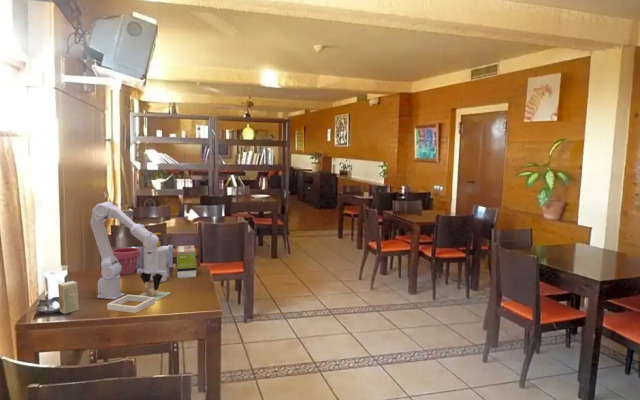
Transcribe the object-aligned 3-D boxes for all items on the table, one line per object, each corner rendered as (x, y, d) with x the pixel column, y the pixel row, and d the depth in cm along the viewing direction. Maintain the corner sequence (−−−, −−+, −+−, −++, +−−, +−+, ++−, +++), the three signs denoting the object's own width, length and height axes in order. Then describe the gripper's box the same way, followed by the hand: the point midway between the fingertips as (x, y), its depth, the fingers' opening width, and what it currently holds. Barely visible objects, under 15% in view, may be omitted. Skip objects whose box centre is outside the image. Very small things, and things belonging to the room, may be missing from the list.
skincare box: (74, 308, 202) (73, 280, 201) (79, 310, 199) (78, 282, 198) (58, 311, 197) (57, 283, 196) (63, 314, 194) (61, 285, 193)
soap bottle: (167, 281, 245) (166, 233, 242) (151, 284, 238) (150, 235, 235) (159, 277, 251) (158, 231, 248) (143, 281, 244) (142, 233, 241)
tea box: (176, 271, 265) (176, 245, 263) (195, 270, 268) (194, 244, 266) (177, 278, 251) (176, 251, 249) (196, 277, 254) (196, 250, 252)
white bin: (107, 309, 200) (107, 304, 200) (128, 299, 214) (128, 294, 214) (135, 313, 197) (135, 307, 197) (155, 302, 210) (155, 297, 210)
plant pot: (135, 268, 270) (134, 246, 269) (143, 273, 259) (143, 250, 258) (109, 271, 261) (108, 249, 260) (116, 277, 250) (116, 253, 249)
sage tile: (133, 298, 216) (132, 297, 216) (148, 291, 227) (148, 290, 227) (155, 301, 213) (155, 300, 213) (170, 293, 224) (170, 292, 224)
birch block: (145, 294, 218) (144, 281, 217) (150, 292, 222) (150, 279, 221) (152, 295, 217) (152, 282, 216) (157, 293, 221) (157, 280, 220)
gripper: (132, 261, 216) (133, 290, 218) (160, 263, 212) (160, 293, 214) (141, 258, 223) (142, 286, 224) (169, 260, 219) (169, 288, 221)
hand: (152, 289), depth 220 cm, fingers closed on birch block, 4 cm apart
